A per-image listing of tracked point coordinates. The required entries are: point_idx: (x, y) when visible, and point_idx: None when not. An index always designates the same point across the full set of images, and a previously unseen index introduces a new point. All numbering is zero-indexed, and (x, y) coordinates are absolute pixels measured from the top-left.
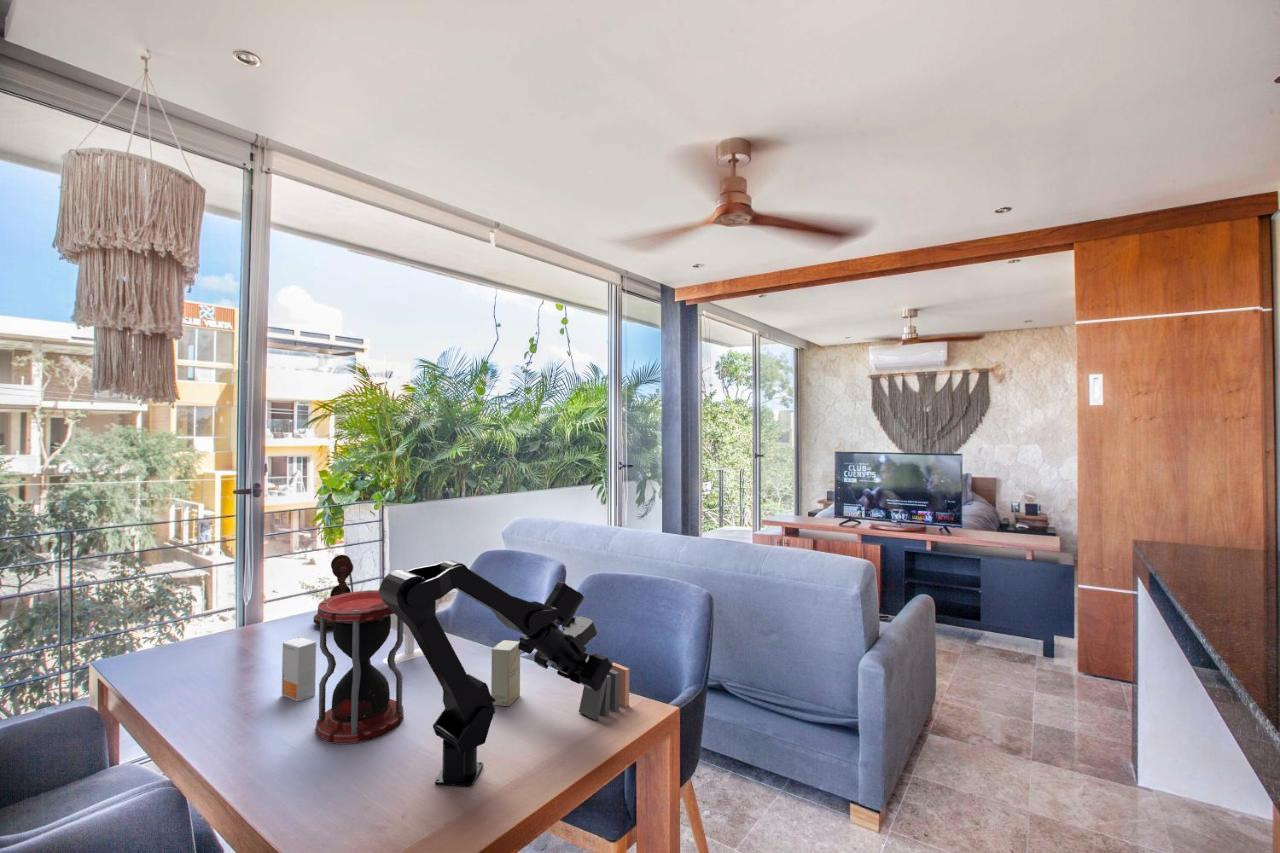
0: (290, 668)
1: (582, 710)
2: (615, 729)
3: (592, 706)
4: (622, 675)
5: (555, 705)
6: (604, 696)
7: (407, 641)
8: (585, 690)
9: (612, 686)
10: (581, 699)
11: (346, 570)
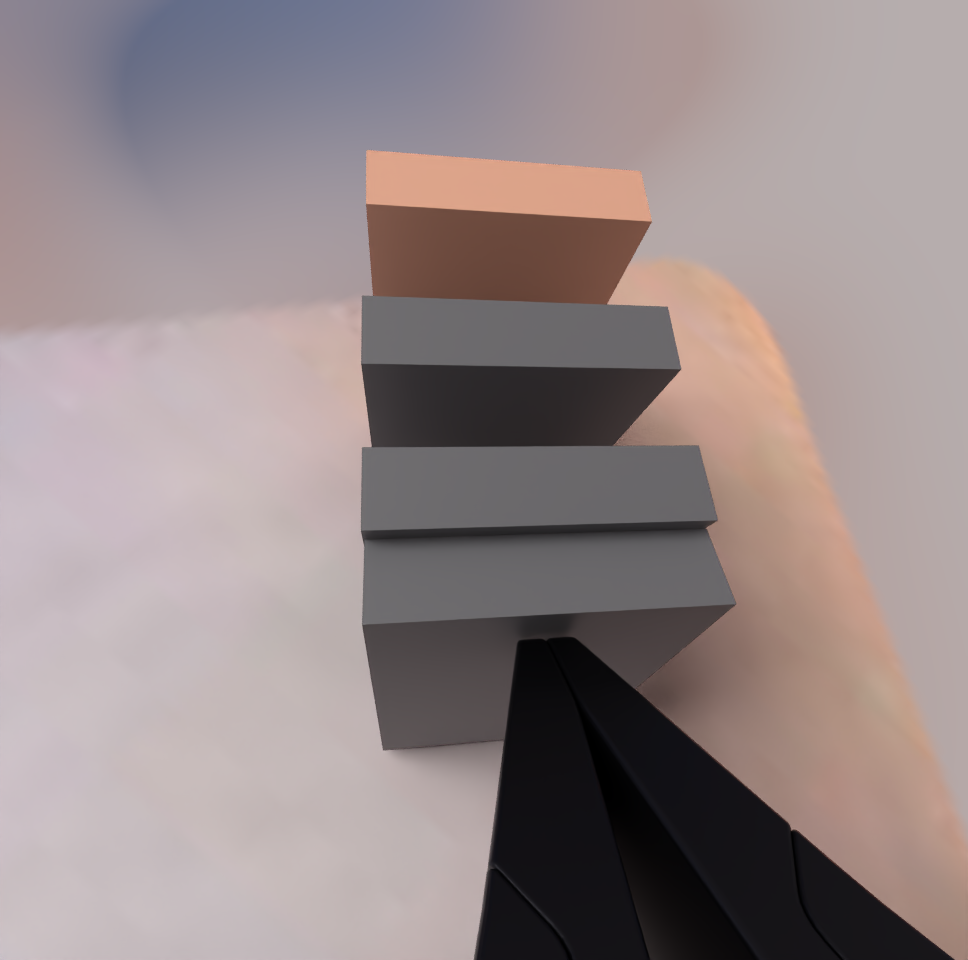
0: None
1: (426, 740)
2: (759, 685)
3: None
4: (580, 274)
5: (95, 832)
6: None
7: None
8: (415, 698)
9: (576, 442)
10: (383, 727)
11: None
